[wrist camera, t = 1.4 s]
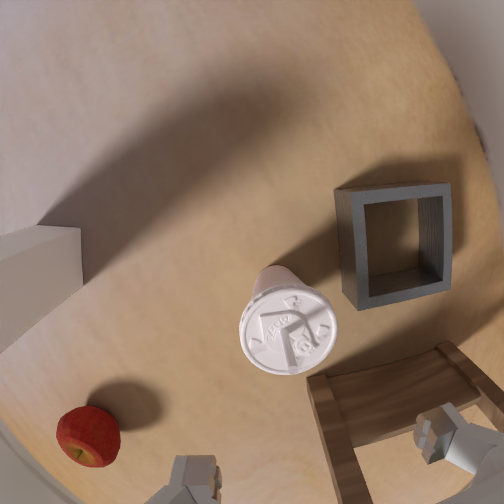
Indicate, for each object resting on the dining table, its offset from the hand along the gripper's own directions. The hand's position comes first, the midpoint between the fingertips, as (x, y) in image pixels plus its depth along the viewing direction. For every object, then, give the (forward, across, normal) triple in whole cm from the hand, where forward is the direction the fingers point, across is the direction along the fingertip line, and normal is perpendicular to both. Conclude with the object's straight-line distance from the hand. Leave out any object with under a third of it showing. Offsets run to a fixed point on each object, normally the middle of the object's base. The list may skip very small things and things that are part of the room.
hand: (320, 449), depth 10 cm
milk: (+19, +21, -6) cm, 29 cm away
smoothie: (+19, 0, 0) cm, 19 cm away
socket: (+19, -11, -3) cm, 22 cm away
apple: (+20, +24, +15) cm, 34 cm away
